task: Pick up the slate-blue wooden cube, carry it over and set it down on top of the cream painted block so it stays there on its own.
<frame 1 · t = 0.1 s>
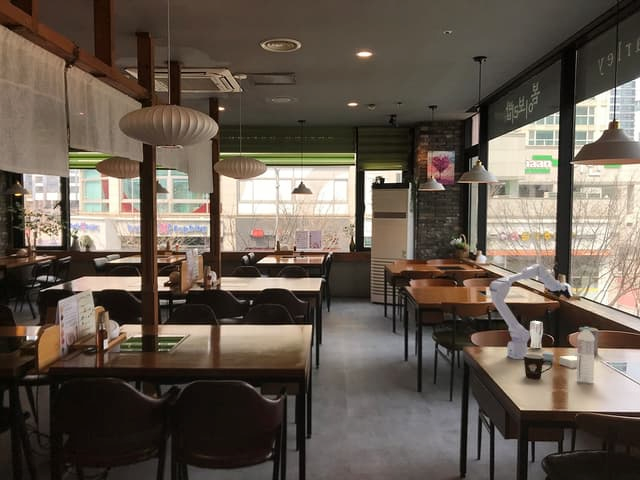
hand: (564, 296, 285), 32 cm above the table, tool tilted 50°, fingers open, 7 cm apart
cream block: (571, 365, 263), on the table
coffee mug: (536, 378, 239), on the table
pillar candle: (587, 353, 290), on the table
beer glass: (535, 347, 302), on the table
blue cube: (547, 362, 268), on the table
water bottle: (585, 382, 234), on the table
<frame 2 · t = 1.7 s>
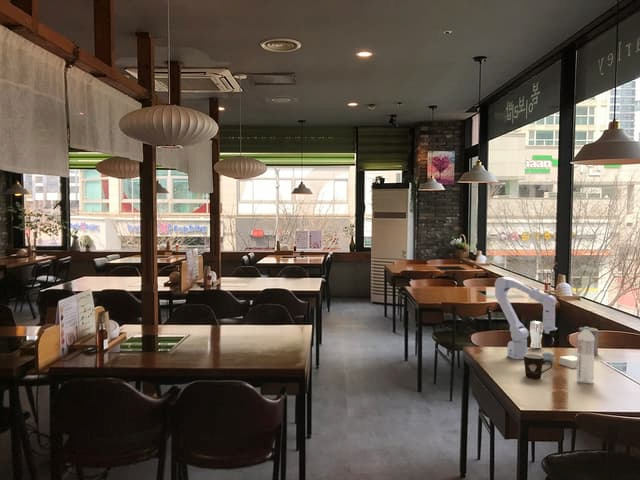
hand: (548, 345, 268), 9 cm above the table, tool pointing down, fingers open, 7 cm apart
nothing on the table moved.
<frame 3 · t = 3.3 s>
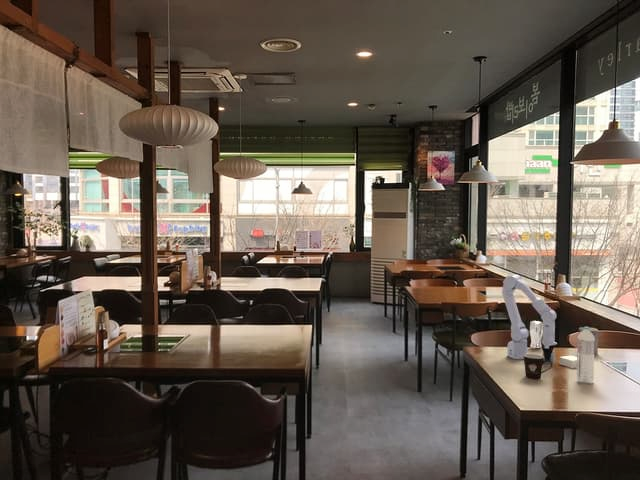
hand: (548, 359, 268), 1 cm above the table, tool pointing down, fingers closed on blue cube, 5 cm apart
blue cube: (548, 362, 268), on the table, touching gripper
everything else where it was.
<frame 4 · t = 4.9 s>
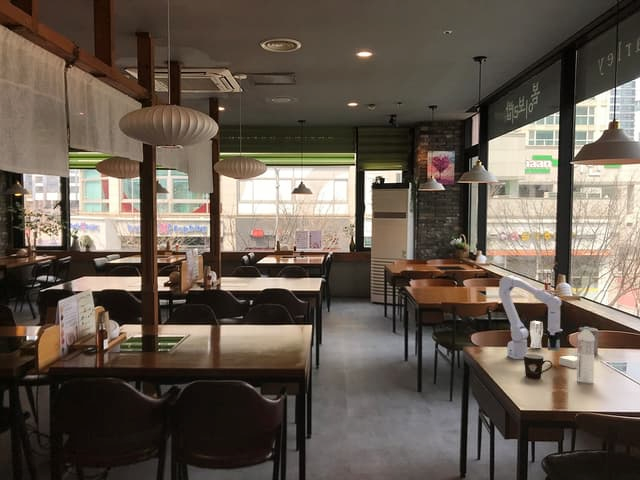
hand: (553, 346, 267), 9 cm above the table, tool pointing down, fingers closed on blue cube, 5 cm apart
blue cube: (553, 349, 267), point 7 cm above the table, touching gripper
everything else where it was.
when the fingers open (7 cm above the table, at t = 6.6 s): blue cube drops 1 cm, point 4 cm above the table.
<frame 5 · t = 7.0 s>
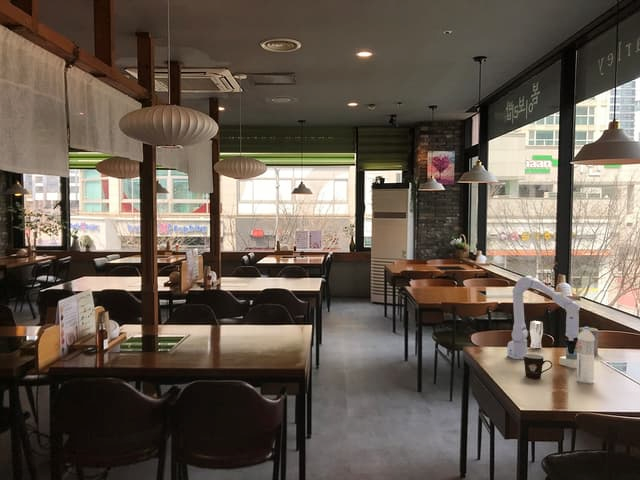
hand: (571, 352, 263), 7 cm above the table, tool pointing down, fingers open, 7 cm apart
blue cube: (571, 358, 263), point 4 cm above the table
everything else where it was.
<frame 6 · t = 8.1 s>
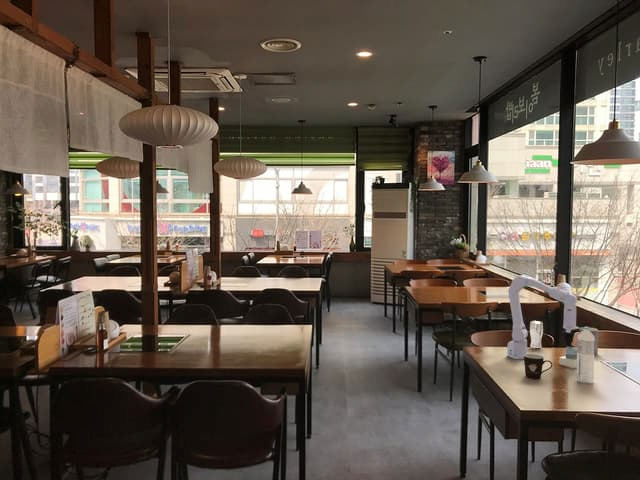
hand: (569, 344, 265), 10 cm above the table, tool pointing down, fingers open, 7 cm apart
nothing on the table moved.
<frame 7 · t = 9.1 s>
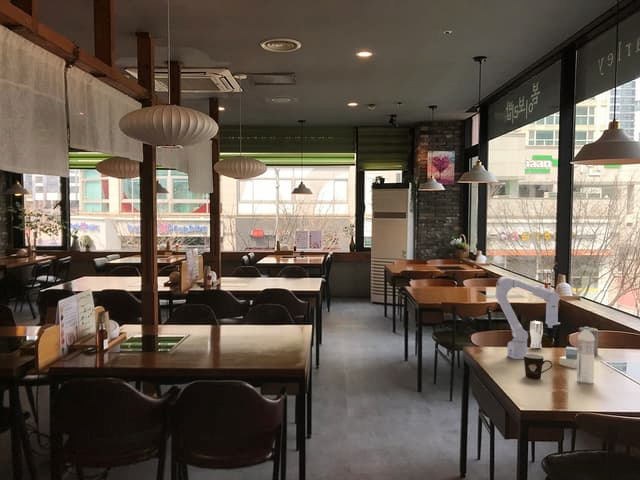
hand: (551, 339, 276), 10 cm above the table, tool pointing down, fingers open, 7 cm apart
nothing on the table moved.
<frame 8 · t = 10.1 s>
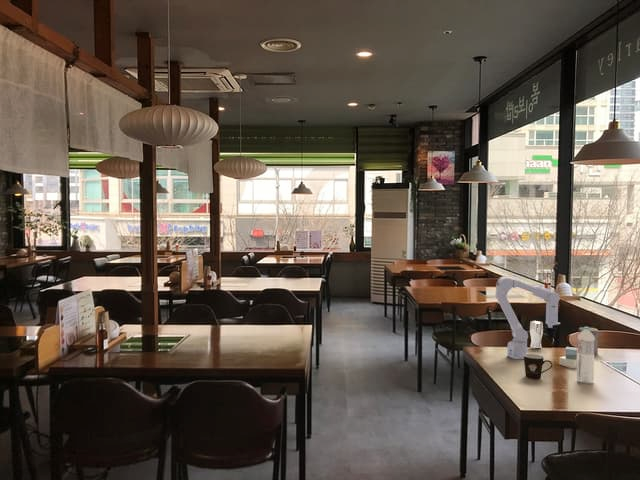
hand: (551, 339, 276), 10 cm above the table, tool pointing down, fingers open, 7 cm apart
cream block: (571, 366, 263), on the table, touching blue cube
blue cube: (571, 358, 263), point 4 cm above the table, touching cream block
everything else where it was.
at the end: blue cube 0.2 cm off-centre on the cream block, point 4.0 cm above the cream block's base; blue cube touching cream block; blue cube tilted 0° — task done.
